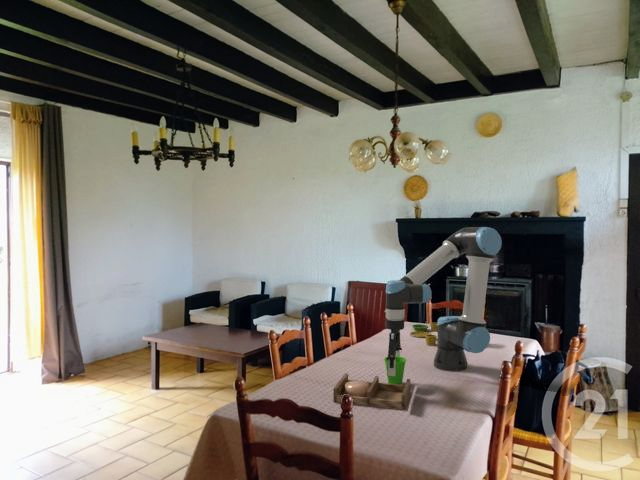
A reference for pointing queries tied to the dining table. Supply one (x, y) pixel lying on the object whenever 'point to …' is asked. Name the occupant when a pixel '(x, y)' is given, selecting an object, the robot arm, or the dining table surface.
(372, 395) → the rack
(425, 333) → the tableware set
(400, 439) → the dining table surface
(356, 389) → the egg
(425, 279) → the robot arm
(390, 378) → the cup
